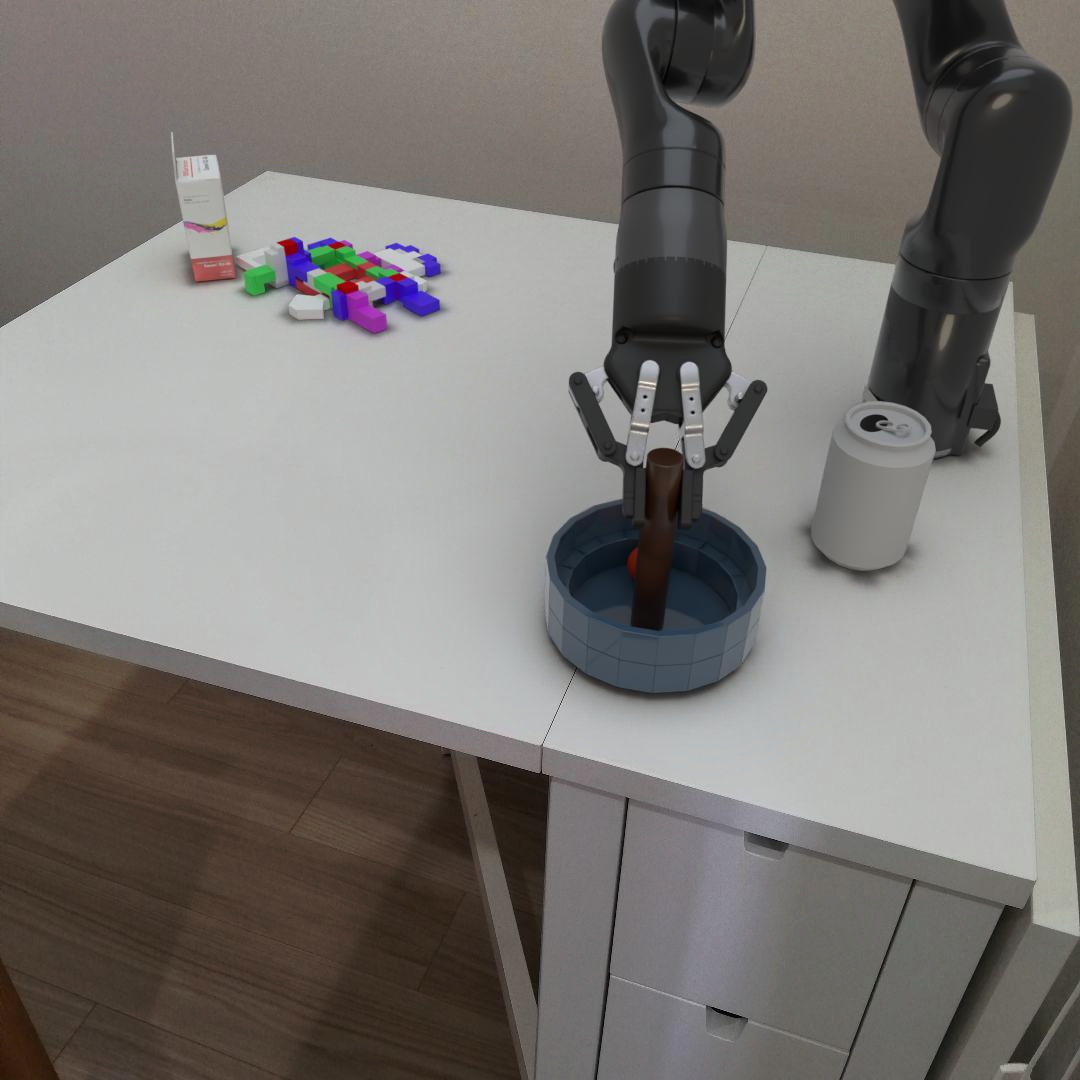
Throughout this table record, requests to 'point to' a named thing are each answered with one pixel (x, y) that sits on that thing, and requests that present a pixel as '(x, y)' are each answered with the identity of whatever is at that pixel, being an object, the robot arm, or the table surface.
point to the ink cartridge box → (204, 216)
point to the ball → (632, 563)
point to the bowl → (691, 608)
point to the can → (872, 485)
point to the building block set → (343, 279)
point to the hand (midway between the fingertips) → (661, 526)
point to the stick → (656, 538)
